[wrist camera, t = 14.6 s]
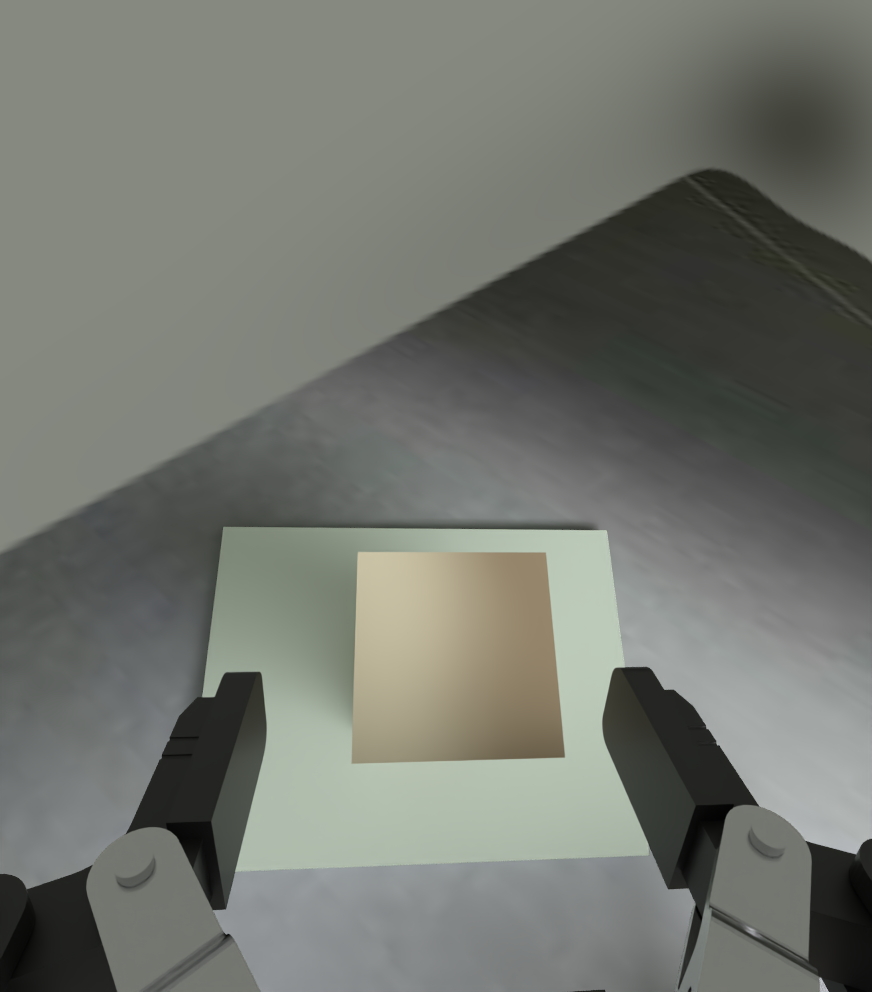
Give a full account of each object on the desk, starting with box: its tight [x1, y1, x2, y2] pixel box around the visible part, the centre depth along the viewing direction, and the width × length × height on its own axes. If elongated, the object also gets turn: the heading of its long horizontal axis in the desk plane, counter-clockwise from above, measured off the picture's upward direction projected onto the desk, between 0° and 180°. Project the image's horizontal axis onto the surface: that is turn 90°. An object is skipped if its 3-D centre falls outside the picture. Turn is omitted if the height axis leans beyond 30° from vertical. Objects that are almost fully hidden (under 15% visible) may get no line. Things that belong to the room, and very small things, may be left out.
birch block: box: [351, 552, 565, 764], centre depth 16 cm, size 4×4×11 cm
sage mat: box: [202, 527, 649, 872], centre depth 22 cm, size 16×12×1 cm
